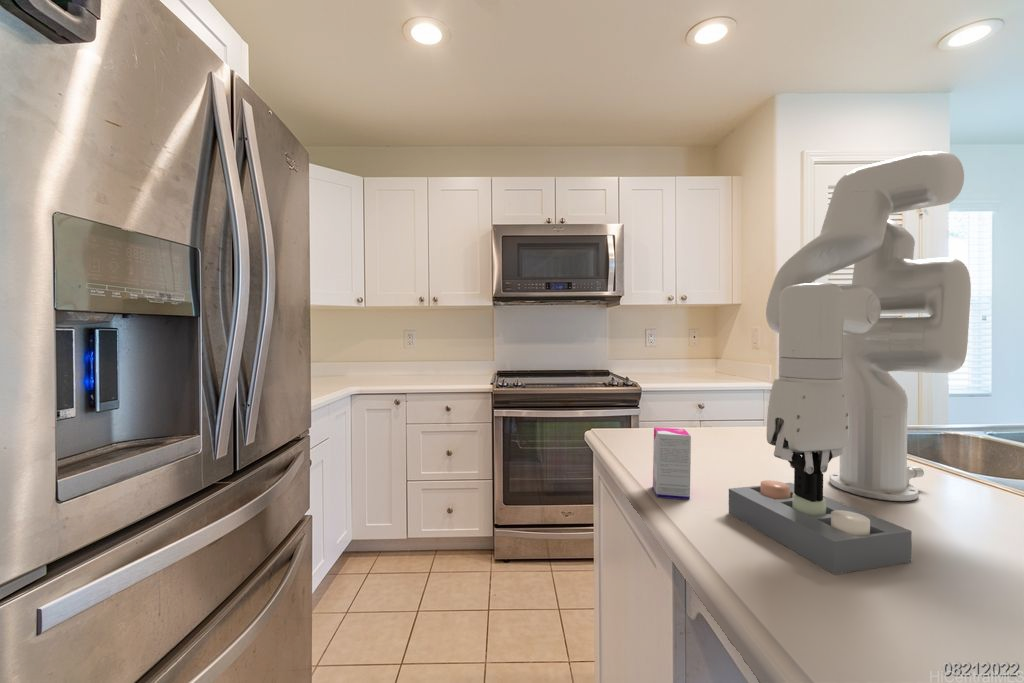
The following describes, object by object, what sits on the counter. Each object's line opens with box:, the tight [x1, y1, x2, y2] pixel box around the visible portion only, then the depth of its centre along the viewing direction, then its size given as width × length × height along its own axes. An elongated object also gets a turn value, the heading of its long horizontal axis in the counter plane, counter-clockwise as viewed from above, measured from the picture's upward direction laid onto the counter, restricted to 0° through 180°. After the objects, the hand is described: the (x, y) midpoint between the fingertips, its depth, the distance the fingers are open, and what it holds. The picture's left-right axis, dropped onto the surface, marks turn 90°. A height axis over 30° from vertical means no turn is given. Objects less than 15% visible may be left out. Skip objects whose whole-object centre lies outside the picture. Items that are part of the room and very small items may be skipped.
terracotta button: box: [760, 479, 790, 500], centre depth 68 cm, size 4×4×4 cm
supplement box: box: [652, 427, 692, 500], centre depth 78 cm, size 6×6×12 cm
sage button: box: [792, 493, 826, 516], centre depth 62 cm, size 4×4×4 cm
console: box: [728, 482, 913, 575], centre depth 62 cm, size 12×18×4 cm, turn 12°
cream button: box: [831, 510, 870, 536], centre depth 56 cm, size 4×4×4 cm
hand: (808, 497), depth 61 cm, fingers closed
